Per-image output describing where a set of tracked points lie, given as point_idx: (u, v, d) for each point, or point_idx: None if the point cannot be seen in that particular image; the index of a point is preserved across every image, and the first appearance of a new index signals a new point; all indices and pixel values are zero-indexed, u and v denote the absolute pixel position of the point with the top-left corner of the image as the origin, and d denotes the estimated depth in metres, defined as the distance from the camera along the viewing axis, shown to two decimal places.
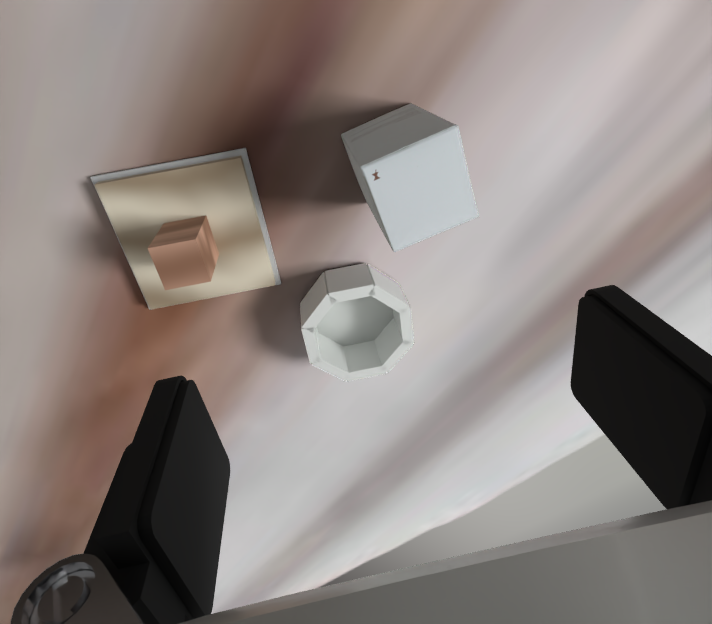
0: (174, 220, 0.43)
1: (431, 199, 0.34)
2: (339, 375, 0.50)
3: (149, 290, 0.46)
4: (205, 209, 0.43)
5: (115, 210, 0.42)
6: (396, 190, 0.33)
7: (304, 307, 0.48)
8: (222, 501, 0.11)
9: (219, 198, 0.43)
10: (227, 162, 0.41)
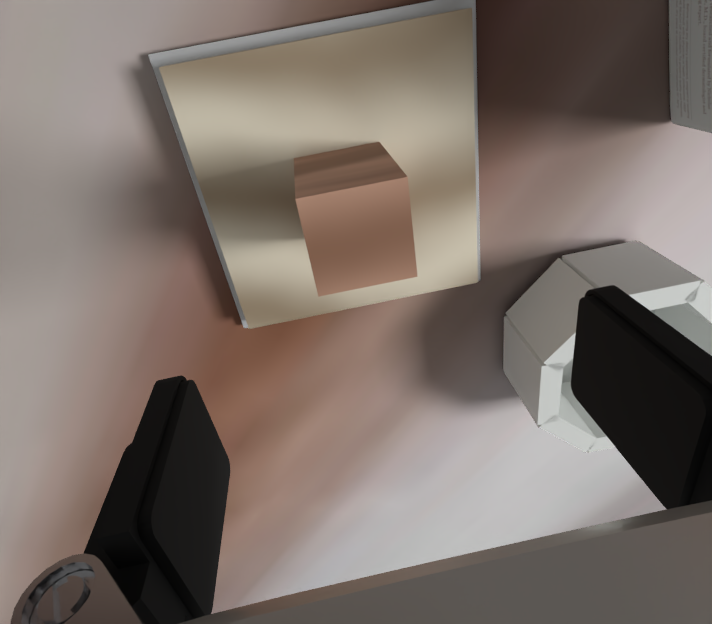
0: (314, 151, 0.21)
1: None
2: (580, 443, 0.28)
3: (250, 294, 0.25)
4: (380, 128, 0.21)
5: (199, 128, 0.20)
6: None
7: (528, 323, 0.26)
8: (222, 501, 0.11)
9: (410, 105, 0.21)
10: (443, 18, 0.19)
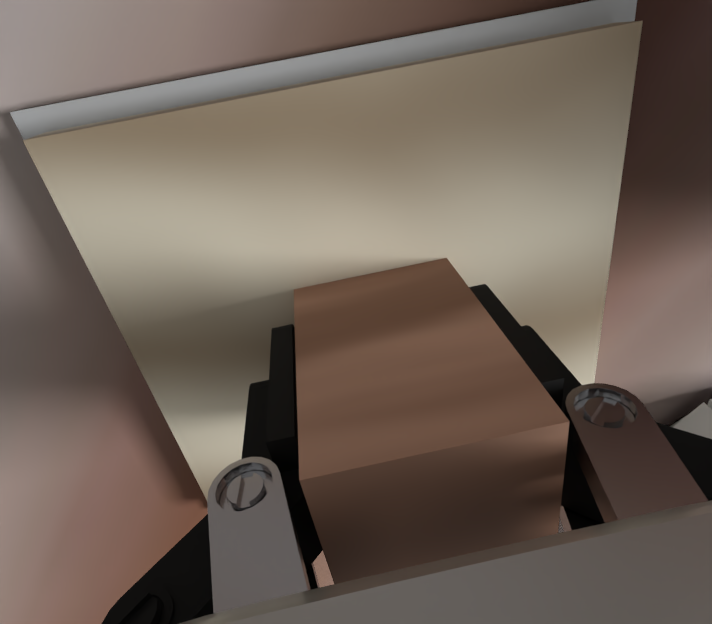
0: (331, 277, 0.12)
1: None
2: None
3: None
4: (450, 237, 0.12)
5: (116, 247, 0.11)
6: None
7: None
8: None
9: (507, 197, 0.11)
10: (585, 41, 0.10)
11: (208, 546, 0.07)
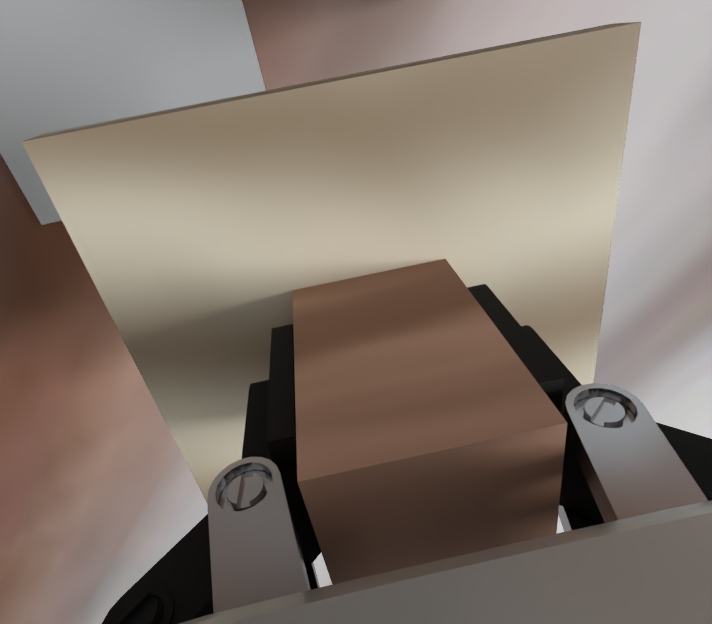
0: (330, 278, 0.12)
1: None
2: None
3: None
4: (448, 238, 0.12)
5: (115, 248, 0.11)
6: None
7: None
8: None
9: (506, 198, 0.11)
10: (583, 43, 0.10)
11: (208, 546, 0.07)
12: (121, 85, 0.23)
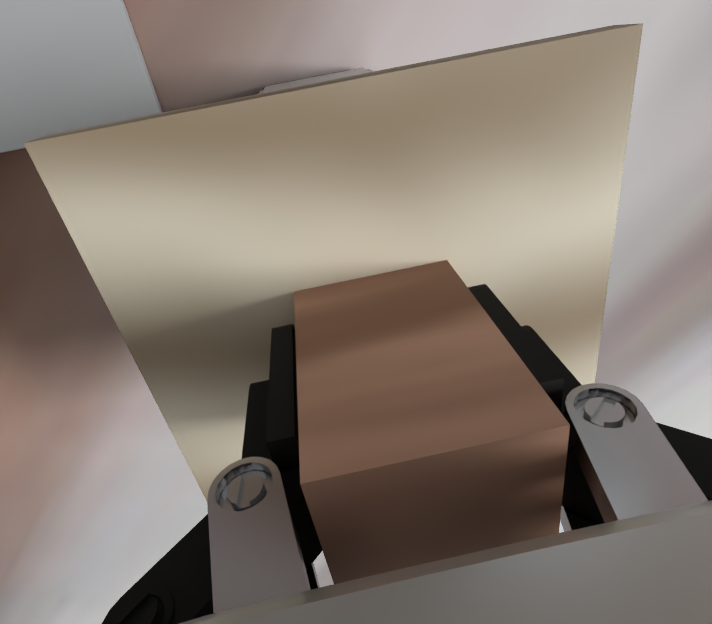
0: (332, 279, 0.12)
1: None
2: None
3: None
4: (450, 239, 0.12)
5: (117, 249, 0.11)
6: None
7: None
8: None
9: (507, 199, 0.11)
10: (585, 44, 0.10)
11: (208, 546, 0.07)
12: None
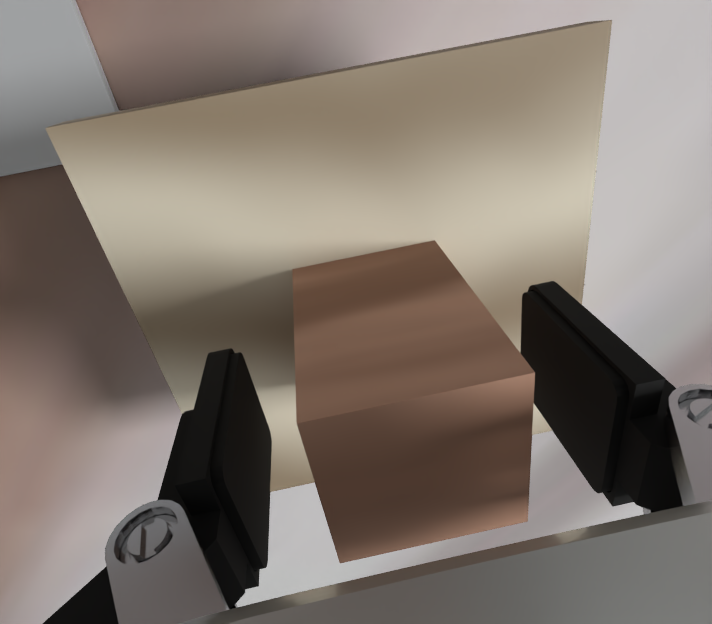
0: (327, 258, 0.13)
1: None
2: None
3: None
4: (437, 221, 0.13)
5: (128, 228, 0.12)
6: None
7: None
8: (268, 467, 0.11)
9: (491, 183, 0.12)
10: (559, 39, 0.11)
11: (113, 609, 0.07)
12: None
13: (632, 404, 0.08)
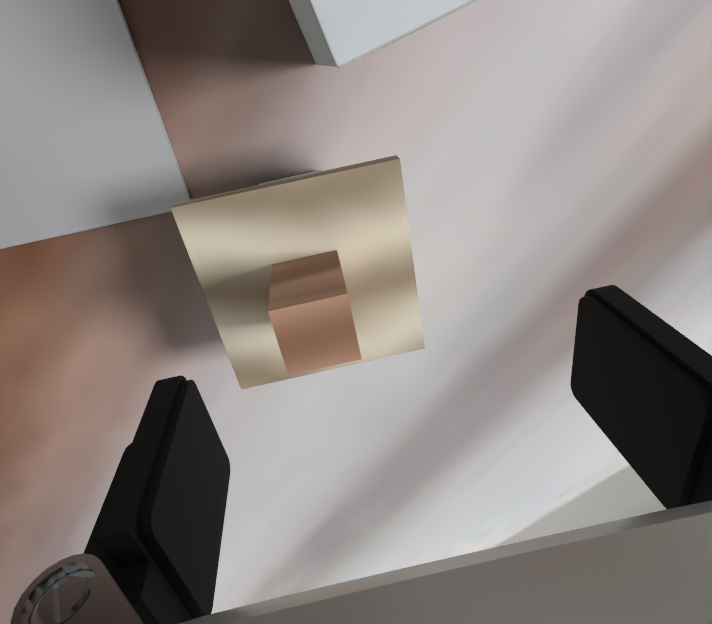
0: (288, 258, 0.28)
1: None
2: None
3: (241, 363, 0.31)
4: (337, 241, 0.28)
5: (200, 247, 0.27)
6: None
7: None
8: (222, 501, 0.11)
9: (359, 224, 0.27)
10: (378, 166, 0.26)
11: None
12: (50, 141, 0.29)
13: None
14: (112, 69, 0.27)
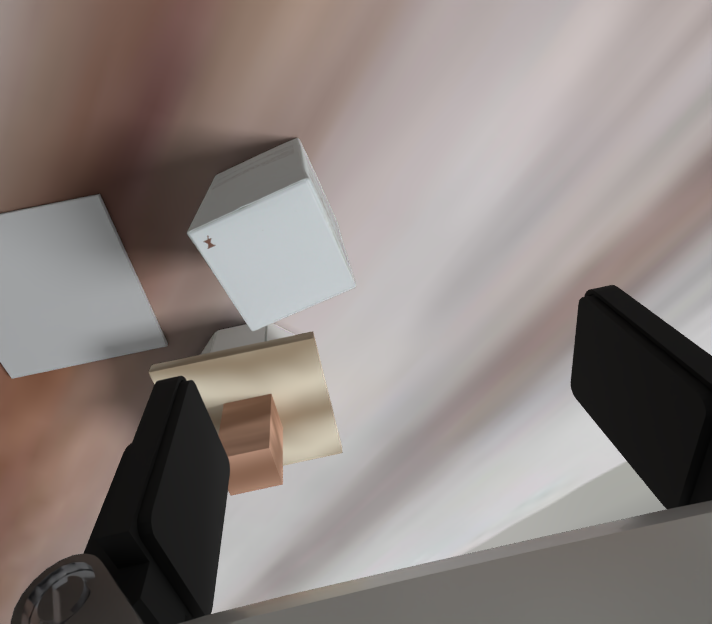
0: (235, 400, 0.38)
1: (289, 268, 0.26)
2: None
3: None
4: (271, 388, 0.38)
5: None
6: (240, 259, 0.26)
7: None
8: (222, 501, 0.11)
9: (287, 377, 0.38)
10: (298, 343, 0.36)
11: None
12: (60, 307, 0.39)
13: None
14: (107, 262, 0.37)
